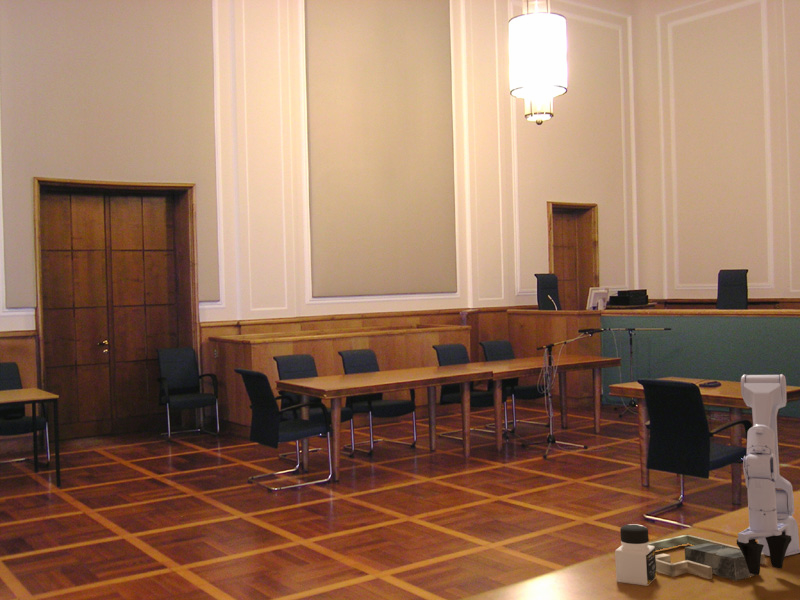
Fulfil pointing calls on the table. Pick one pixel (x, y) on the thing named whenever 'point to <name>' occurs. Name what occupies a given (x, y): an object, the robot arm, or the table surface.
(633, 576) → the medicine bottle
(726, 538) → the table surface
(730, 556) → the stone block
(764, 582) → the table surface
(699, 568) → the trap lane
